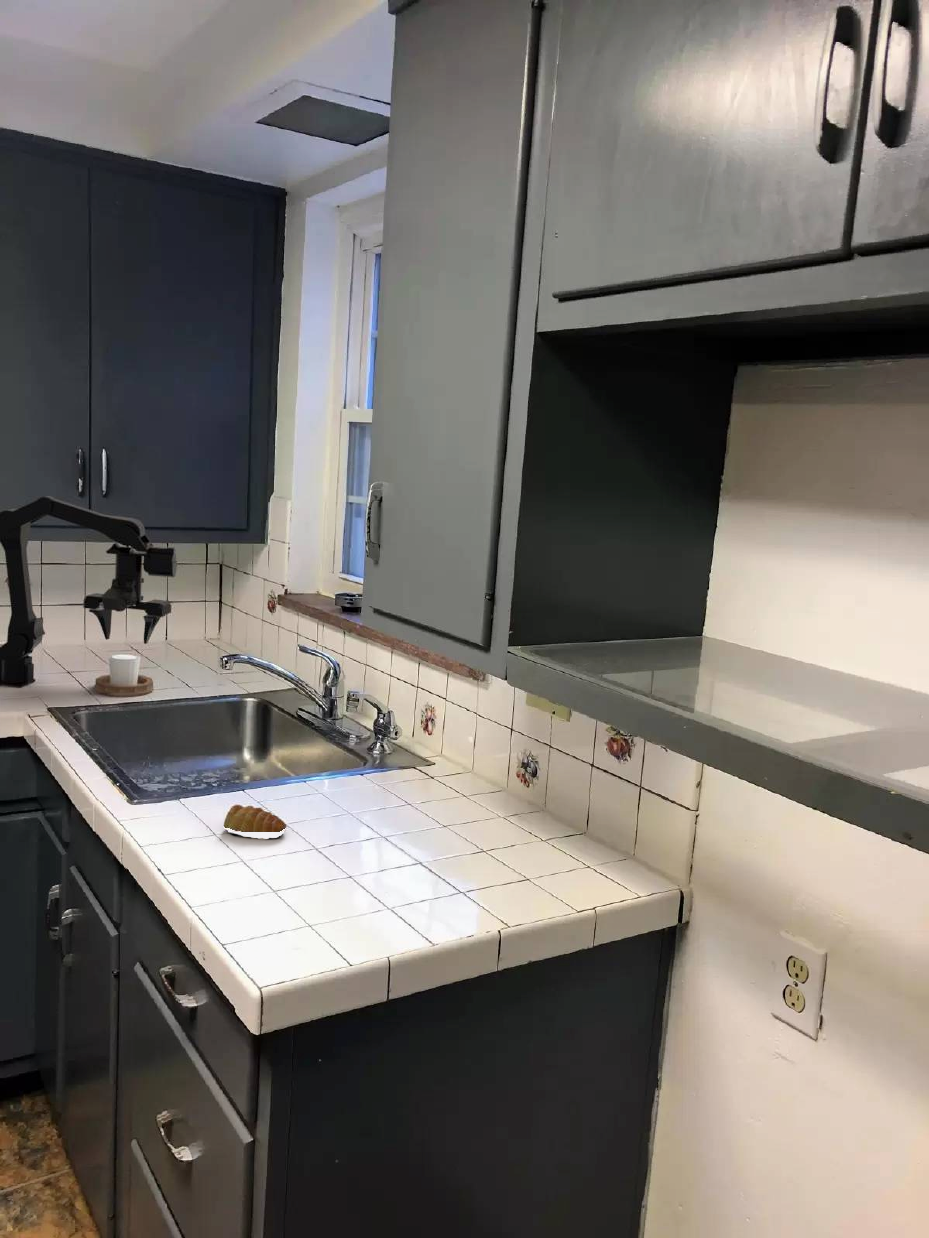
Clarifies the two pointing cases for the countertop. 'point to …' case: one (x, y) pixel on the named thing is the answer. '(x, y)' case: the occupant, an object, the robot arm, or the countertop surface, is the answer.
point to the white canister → (124, 669)
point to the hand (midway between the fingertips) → (126, 641)
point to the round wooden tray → (124, 687)
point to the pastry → (252, 820)
